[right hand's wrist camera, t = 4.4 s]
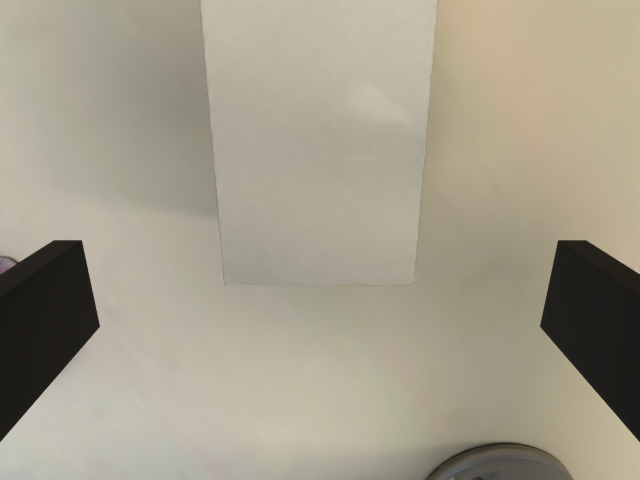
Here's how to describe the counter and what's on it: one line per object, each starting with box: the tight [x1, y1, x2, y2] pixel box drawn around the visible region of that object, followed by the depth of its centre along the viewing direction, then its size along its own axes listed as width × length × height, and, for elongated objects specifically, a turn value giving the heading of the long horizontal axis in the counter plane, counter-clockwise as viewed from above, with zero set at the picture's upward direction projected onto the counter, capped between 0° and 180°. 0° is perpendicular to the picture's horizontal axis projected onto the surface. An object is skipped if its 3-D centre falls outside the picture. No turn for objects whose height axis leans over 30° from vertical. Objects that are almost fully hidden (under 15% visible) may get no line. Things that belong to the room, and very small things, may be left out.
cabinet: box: [200, 0, 438, 285], centre depth 25 cm, size 18×10×10 cm, turn 0°
